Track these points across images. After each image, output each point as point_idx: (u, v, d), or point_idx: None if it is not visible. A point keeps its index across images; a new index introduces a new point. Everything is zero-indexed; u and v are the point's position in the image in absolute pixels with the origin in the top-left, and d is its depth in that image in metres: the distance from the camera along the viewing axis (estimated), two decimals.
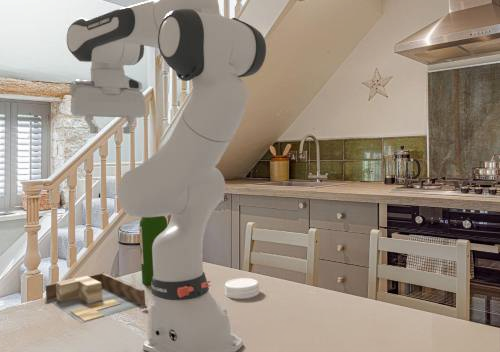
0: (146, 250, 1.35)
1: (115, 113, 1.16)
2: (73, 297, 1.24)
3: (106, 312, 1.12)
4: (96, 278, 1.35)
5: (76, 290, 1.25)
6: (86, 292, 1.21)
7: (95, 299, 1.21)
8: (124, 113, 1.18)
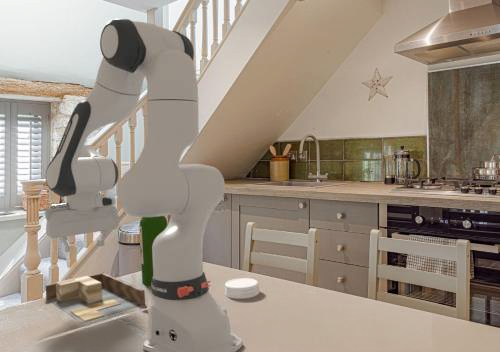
0: (146, 250, 1.35)
1: (89, 230, 1.24)
2: (73, 297, 1.24)
3: (106, 312, 1.12)
4: (96, 278, 1.35)
5: (76, 290, 1.25)
6: (86, 292, 1.21)
7: (95, 299, 1.21)
8: (98, 229, 1.25)
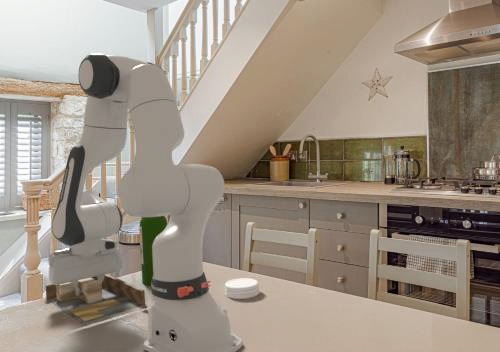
0: (146, 250, 1.35)
1: (92, 275, 1.24)
2: (73, 297, 1.24)
3: (106, 312, 1.12)
4: (96, 278, 1.35)
5: None
6: (86, 292, 1.21)
7: (95, 299, 1.21)
8: (101, 273, 1.26)
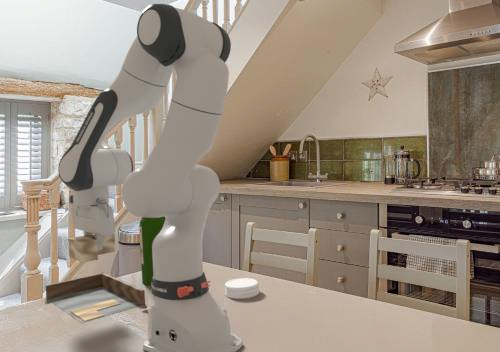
0: (146, 250, 1.35)
1: None
2: None
3: (106, 312, 1.12)
4: (96, 278, 1.35)
5: None
6: (110, 242, 1.17)
7: None
8: None
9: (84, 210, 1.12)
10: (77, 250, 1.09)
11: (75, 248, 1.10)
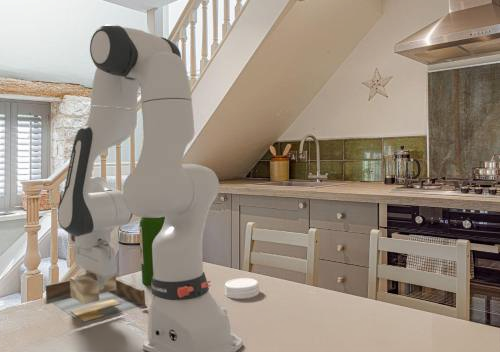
0: (146, 250, 1.35)
1: None
2: None
3: (106, 312, 1.12)
4: None
5: None
6: (112, 280, 1.18)
7: None
8: None
9: (86, 250, 1.13)
10: (79, 291, 1.09)
11: (77, 289, 1.10)
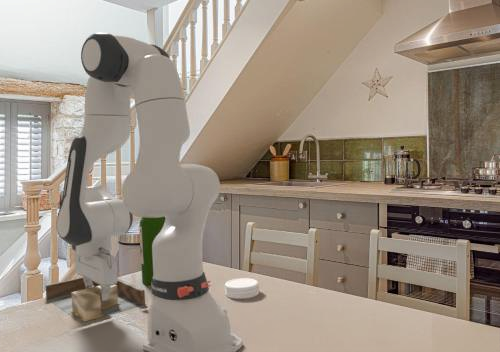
0: (146, 250, 1.35)
1: None
2: None
3: (106, 312, 1.12)
4: None
5: None
6: (113, 294, 1.18)
7: None
8: None
9: (87, 259, 1.13)
10: (80, 306, 1.09)
11: (78, 304, 1.10)
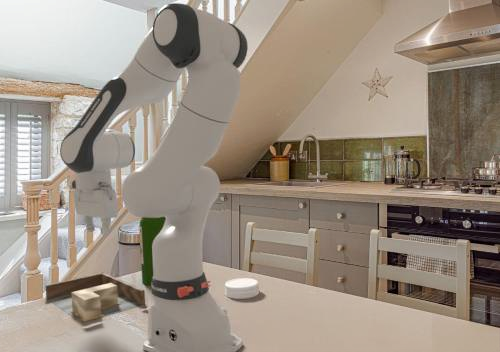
0: (146, 250, 1.35)
1: None
2: None
3: (106, 312, 1.12)
4: (96, 278, 1.35)
5: None
6: (113, 294, 1.18)
7: None
8: None
9: (87, 194, 1.13)
10: (80, 306, 1.09)
11: (78, 304, 1.10)
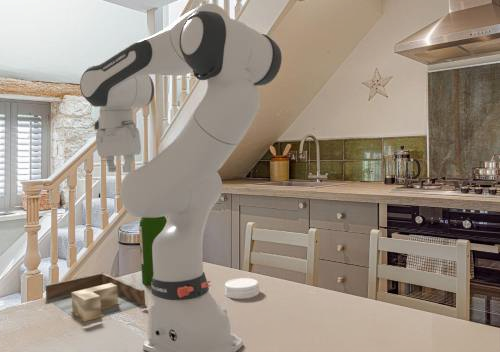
0: (146, 250, 1.35)
1: None
2: None
3: (106, 312, 1.12)
4: (96, 278, 1.35)
5: None
6: (113, 294, 1.18)
7: None
8: None
9: (110, 132, 1.16)
10: (80, 306, 1.09)
11: (78, 304, 1.10)
